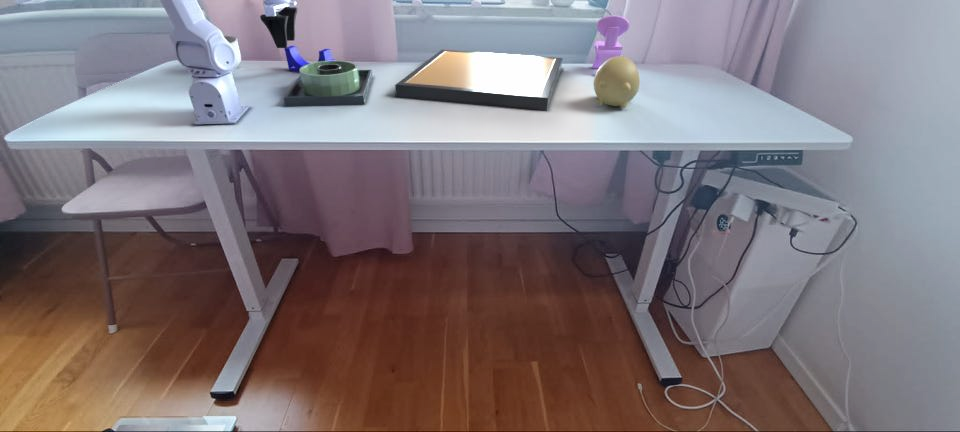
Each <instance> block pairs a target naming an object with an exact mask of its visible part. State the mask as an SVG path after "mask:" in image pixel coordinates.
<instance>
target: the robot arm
mask: <svg viewBox="0 0 960 432" xmlns="http://www.w3.org/2000/svg"><path fill="white" fill-rule="evenodd" d="M159 2H160V3H161V5H162V7H163V9H164V10H165V12H166V15H168V17H169V19H170V21H171V23H172V25H173V29H172V30H171V32H170V33H169V35H168V36H169V39H170V41H171V42H172V45H173V50H174V55H175V58H176V60H177V61H178V63H179V64H180V65H181V66H182V67H184V68H186V70H187V73H188V74H190V75H191V80H192V82H191V86H189V89H188V95H189V99H190V101H191V104H192V108H193V111H194V113H195V117H196V119H195V120H194V121H193V125H219V124H220V125H222V124H223V125H225V124H236V123H237V122H238V121H239V120H240V119H241V117H242V116H243V115H244V114H245V113H246V112H247V111H248V110H249V108H250V106H249V105H241V101H240V96H239V94H238V89H237V86H236V83H235V79H234V76H233V72H234V71H235V70H233V68H234V66H235V63H236V53H235V50H234V48H233V46H232V45H231V44H230V43H229V42H228V41H227V40H226V39H225V38H224V36H223V35H224V34H223V32H222V30H221V29H219V27H217V26H215V25H214V24H213V23H211V21H209V20H208V19H207V18H206V16H205V15H204V13H203V11H202V9H201V6H200V5H199V3H198V2H199V1H198V0H159ZM262 4H263V10H264V14H261V15H259V19H260V20H261V22H262V23H263V24H264V26H265V27H266V29H267V30H268V32H269V33H270V35H271V38H272V40H273V42H274V44H275V47H276V48H277V49H284V48H287V47H288V41H289V42H292V41H293V42H294V41H295V38H296V17H297V14H298V7H294V6H296V5H297V1H296V0H262ZM291 6H293V7H291Z"/></svg>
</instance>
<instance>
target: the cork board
mask: <svg viewBox="0 0 960 432" xmlns="http://www.w3.org/2000/svg"><path fill="white" fill-rule="evenodd" d="M562 68H563V57H553V56H538V55H525V54H523V55H522V54H510V53H509V54H508V53H497V52H496V53H495V52H482V51H481V52H480V51H466V50H453V49H440V50H439V51H438V52H436V54H434V55H433V56H431V57H430V58H429V59H427V60H426V61H425V62H423V63H422V64H421V65H420V66H418V67H417V68H415V69H414V70H413V71H411V72H410V73H409V74H408V75H406V76H405V77H403V78H402V79H401V80H400V81H398V82H397V83H396V84H395V85H394V86H395V95H396V96H395V97H397V98H407V99H418V100H427V101H440V102H451V103H461V104H472V105H482V106H493V107H504V108H515V109H525V110H537V111H546V112H547V111H548V108H549V106H550V102H551V99H552V97H553V95H554V91H555V88H556V86H557V83H558V80H559V77H560V74H561V71H562Z"/></svg>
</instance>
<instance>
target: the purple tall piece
mask: <svg viewBox="0 0 960 432" xmlns="http://www.w3.org/2000/svg"><path fill="white" fill-rule="evenodd" d="M596 29H597V32H598V33H599V34H600V35H601V36H602V37H604V41H603V40H595V41H594V50H595V59H594V62H593V65H592V66H591V69H597V70H596V72H595V73H594V76H595V75H596V73H597V71H598V69H599V68H600V67H601V65H602V64H603V63H605V62H606V61H607V60H609V59H611V58H613V57H617V56H622V52H623V45H622V44H621V43H620V41H618V38H619V37H621V36H622V35H624V34H625V33H626V32H627V31H628V30H629V29H630V21H629V20H628V19H627V18H626V17H624V16H621V15H613V14H612V15H607V16H605V17H604V16H603V17H602V18H600V19H598V20H597V22H596Z"/></svg>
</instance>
